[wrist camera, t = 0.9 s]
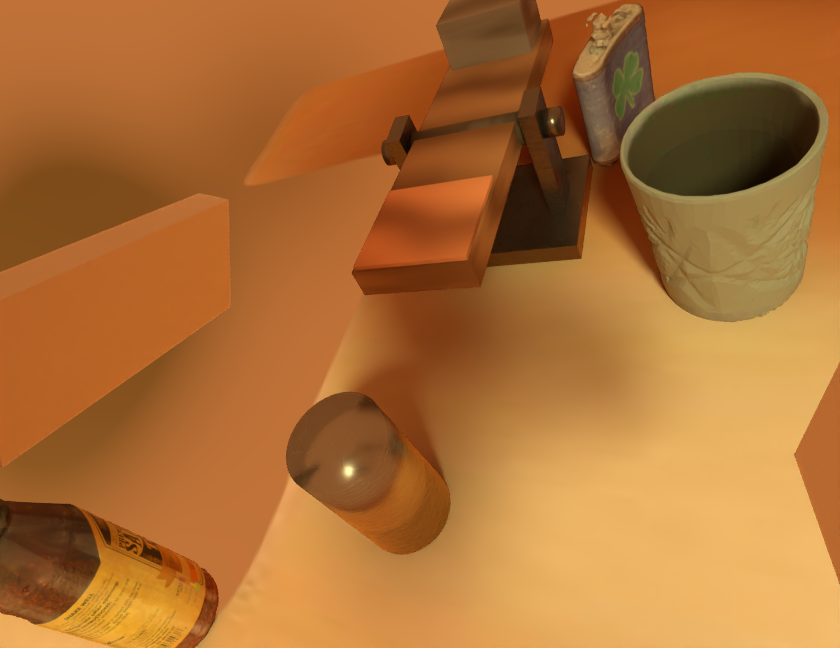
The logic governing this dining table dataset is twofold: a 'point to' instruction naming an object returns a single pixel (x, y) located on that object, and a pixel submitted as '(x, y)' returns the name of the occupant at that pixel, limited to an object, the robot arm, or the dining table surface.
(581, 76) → the flask
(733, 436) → the dining table surface
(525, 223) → the beam stand
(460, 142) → the beam
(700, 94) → the grey cylindrical container
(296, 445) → the glass jar
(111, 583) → the sauce bottle
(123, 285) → the robot arm
